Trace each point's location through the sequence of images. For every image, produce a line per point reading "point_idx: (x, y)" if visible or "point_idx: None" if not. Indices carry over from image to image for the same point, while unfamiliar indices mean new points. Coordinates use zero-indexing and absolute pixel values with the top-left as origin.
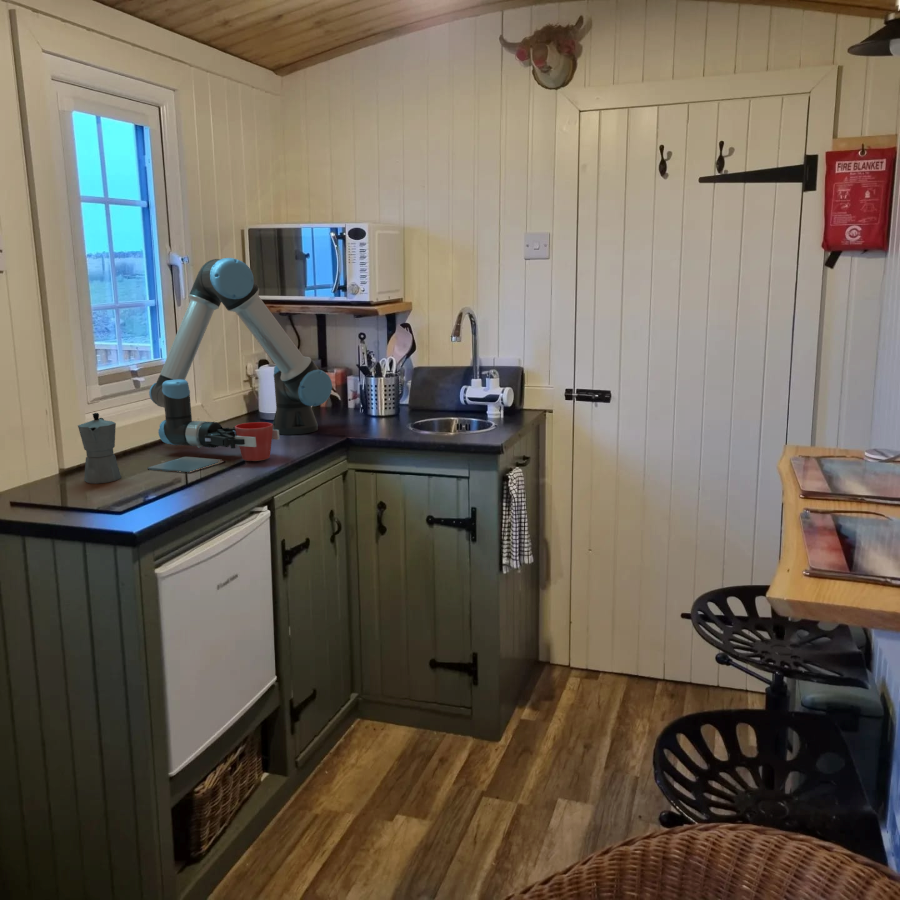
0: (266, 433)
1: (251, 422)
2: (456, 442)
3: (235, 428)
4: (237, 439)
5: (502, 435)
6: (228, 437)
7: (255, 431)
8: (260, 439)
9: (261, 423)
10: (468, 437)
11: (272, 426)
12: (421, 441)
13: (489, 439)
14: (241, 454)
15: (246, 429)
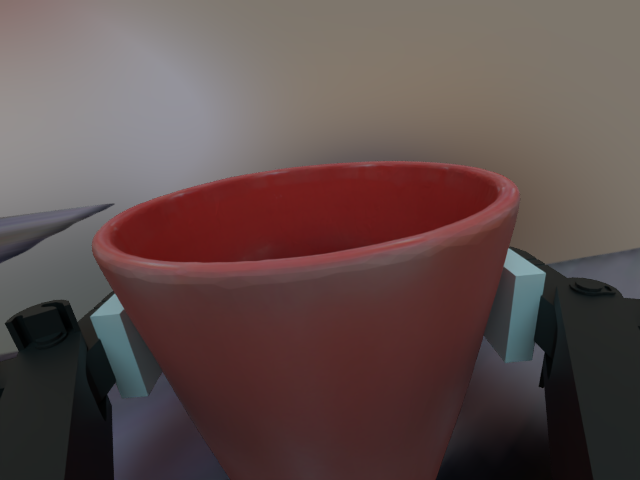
0: (336, 205)
1: (112, 251)
2: (60, 224)
3: (516, 215)
4: (542, 265)
5: (17, 217)
6: (634, 334)
7: (410, 182)
8: (379, 239)
9: (127, 230)
10: (10, 228)
11: (258, 183)
12: (16, 248)
13: (50, 215)
14: (438, 467)
15: (464, 170)
